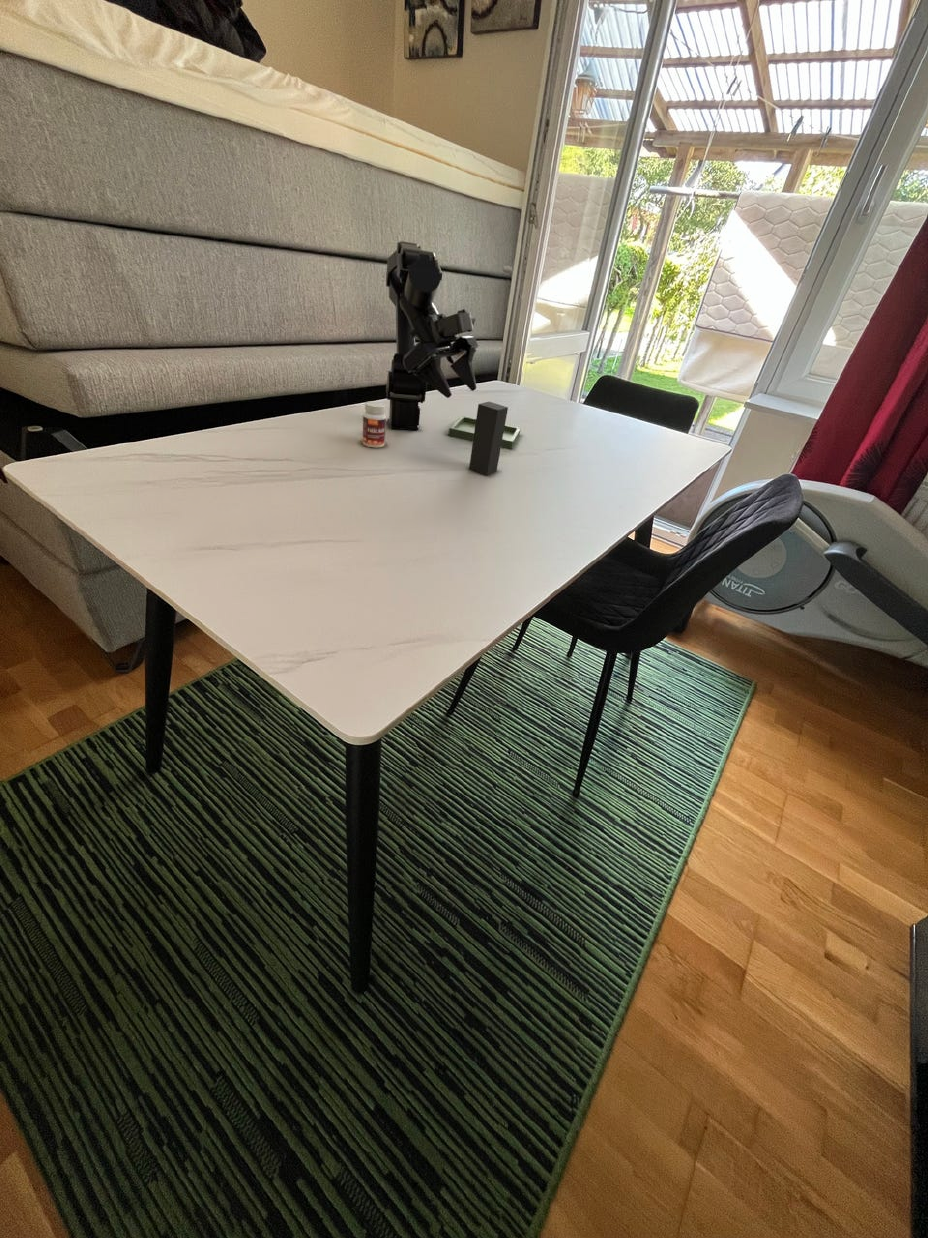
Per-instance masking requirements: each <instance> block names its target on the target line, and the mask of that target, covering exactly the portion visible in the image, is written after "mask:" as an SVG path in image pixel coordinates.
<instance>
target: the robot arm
mask: <svg viewBox="0 0 928 1238" xmlns="http://www.w3.org/2000/svg"><path fill="white" fill-rule="evenodd" d="M386 261H387V262H386V272H385V287H387V288H388V299H389V300H390V301H391V302H392V304H393V305H394V306H395V335H396V337H395V338H396V340H395V341H396V352H395V353H394V354H393V358H392V360H391V365H390V370H388V371H387V376H386V377H387V379H386V384H385V396H386V400H387V401H389V411H388V412H389V413H388V414H389V415H388V418H387V419H386V422H387V423H388V425H389V426H390V429H392V430H405V431H406V430H408V431H419V427H418V426H419V425H420V419H421V418H420V417H421V408H420V406H419V403H420V404H424V403H425V402H426V395H427V389H428V385H430V386H431V387H432V388H434V389H435V390H436V391H437V392H439V393H440V394H441V395H443V397H445V398H447V399H449V398H451V397H452V390H451V389H450V386H449V384H448V383H449V382H448V381H447V379H446V376H445V374H444V372H443V370H442V367H441V363H442V358H446V360H447V362H448V363H450V365H449V367H450V368H451V369H452V370H453V372H454V373H455V374H456V375H457V377H459V379H460V380H462V382H463V383H464V384H465V385H466V387H467V388H468V389H469V390H470V391H472V392H473V391H475V390H477V383H476V377H475V372H474V366H473V359H474V356H475V354H476V353H477V349H478V348H479V342H478V341H477V339H476V338H475V336H472V335H463V336H460V337H459V336H458V335H461V334H463V333H467V332H468V333H471V332H473V331H474V325H475V322H476V317H475V316H474V315H473V312H471V310H470V308H462V309H461V310H458V311H457V313H454V314H450V315H448V316H446V314H444V313H439V311H438V310H437V308H436V305H435V304H434V302H435V299H436V296H437V292H438V290H439V287H440V283H441V281H442V279H443V271H442V270H441V266H440V265H439V260H438V259H436V254H435V252H434V251H429V250H423V249H421V245H419V244H418V243H417V242H416V243H415V242H410V241H404V240H400V241H397V243H396V249H395V251H394V252H393V253H392V254H391V255H390V256H389V257H388V258H387V260H386ZM416 339H418V341H419V342H417V343H416Z"/></svg>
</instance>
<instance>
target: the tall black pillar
mask: <svg viewBox="0 0 928 1238" xmlns="http://www.w3.org/2000/svg"><path fill="white" fill-rule="evenodd" d="M508 411H509V407H508V406H505V405H501V404H498V403H495V402H492V401H485V402H482V403H478V405H477V412H476V417H475V419H476V424H475V431H474V438H473V441H472V446H471V451H470V460H469V466H468V469H469V470H471V471H474V472H476V473H479V474H481V475H484V476H489V475H491V474H495V473H496V472H497V471H498V466H499V460H500V454H501V450H502V449H501V448H502V447H501V444H502V438H503V433H504V427H505V425H506V423H507V422H506V421H507V416H508Z"/></svg>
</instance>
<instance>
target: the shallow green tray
mask: <svg viewBox="0 0 928 1238" xmlns="http://www.w3.org/2000/svg"><path fill="white" fill-rule="evenodd" d="M475 424H476V417H475V418H474V417H470V416H465V415H461V416H460V417H459V418H458V419H457V420H456V421H455V422H454V423H453V424H452V425H451V426H450V427H449V428H448V436H449V437H454V438H457V439H463V440H468V441H471V442H473V438H474V431H475ZM521 431H522V428H521V427H517V426H513V425H509V424H505V427H504V433H503V438H502V444H501V448H503V449H508V450H513V447H514V446H515V444H516V442H517V440H518V439H519V437H520V435H521Z"/></svg>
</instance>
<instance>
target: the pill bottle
mask: <svg viewBox="0 0 928 1238" xmlns="http://www.w3.org/2000/svg"><path fill="white" fill-rule="evenodd" d="M385 407H386V406H385V404H384V403H383V402H379V401H373V400H372V401H371V400H370V401H369V400H368V401H366V402H365V403H364V412H363V414H362V444H363V445H364V446H365V447H369V448H375V449H376V448H377V449H378V448H382V447H384V446H385V444H386V443H385V439H386V425H387V424H386V422H387V416H386V414H385V411H386V409H385Z"/></svg>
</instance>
